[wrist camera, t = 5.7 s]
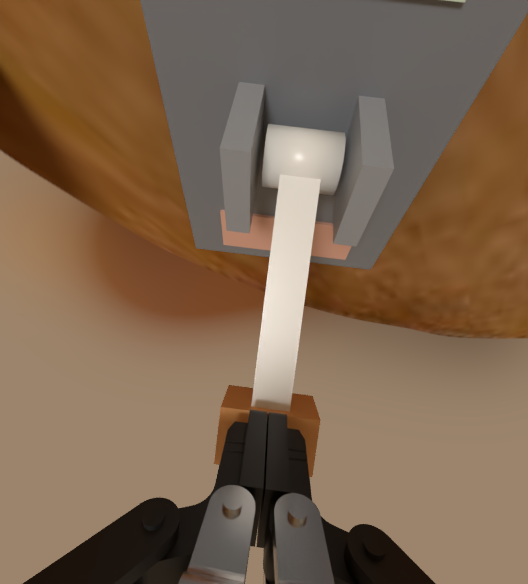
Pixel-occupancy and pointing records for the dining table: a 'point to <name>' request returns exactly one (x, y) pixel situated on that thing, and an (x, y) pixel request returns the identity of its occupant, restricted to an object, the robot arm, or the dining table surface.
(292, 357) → the breaker lever
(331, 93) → the switch block
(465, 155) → the dining table surface
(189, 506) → the robot arm
